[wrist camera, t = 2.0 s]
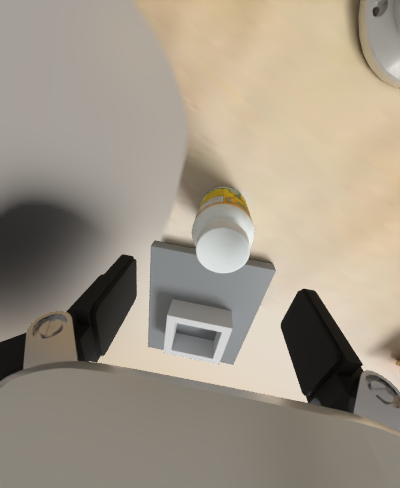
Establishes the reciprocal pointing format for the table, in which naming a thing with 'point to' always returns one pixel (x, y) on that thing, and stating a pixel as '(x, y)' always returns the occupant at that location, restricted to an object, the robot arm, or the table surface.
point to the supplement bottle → (223, 231)
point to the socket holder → (202, 304)
